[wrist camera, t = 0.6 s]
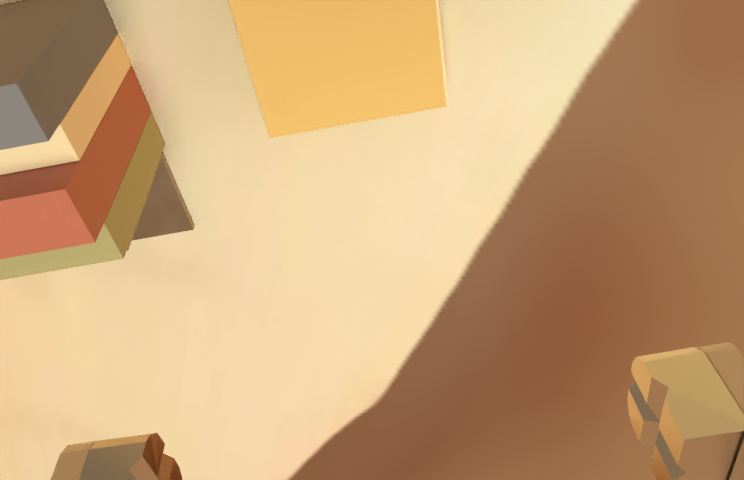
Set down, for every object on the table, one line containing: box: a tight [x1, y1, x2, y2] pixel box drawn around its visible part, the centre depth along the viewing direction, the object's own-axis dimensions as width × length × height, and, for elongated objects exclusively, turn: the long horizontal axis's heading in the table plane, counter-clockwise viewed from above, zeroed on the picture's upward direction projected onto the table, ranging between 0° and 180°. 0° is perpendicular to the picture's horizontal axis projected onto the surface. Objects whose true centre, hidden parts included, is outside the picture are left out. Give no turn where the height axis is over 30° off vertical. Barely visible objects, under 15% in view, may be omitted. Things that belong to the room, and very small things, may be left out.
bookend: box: [127, 152, 194, 250], centre depth 52 cm, size 9×11×13 cm
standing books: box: [0, 0, 165, 280], centre depth 44 cm, size 13×12×17 cm
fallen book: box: [228, 0, 448, 138], centre depth 48 cm, size 11×14×4 cm
